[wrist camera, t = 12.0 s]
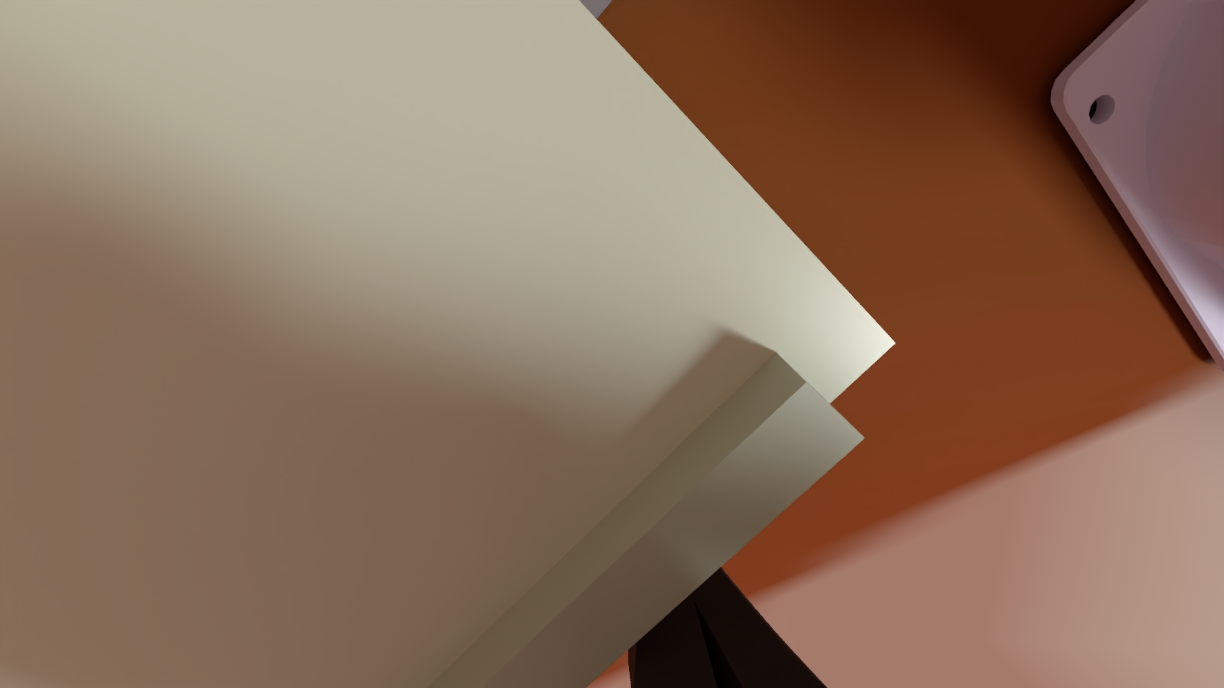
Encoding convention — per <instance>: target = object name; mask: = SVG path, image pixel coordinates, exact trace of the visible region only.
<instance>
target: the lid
mask: <svg viewBox="0 0 1224 688" xmlns="http://www.w3.org/2000/svg"><path fill="white" fill-rule="evenodd" d="M894 344H895V342H894V341H893V340H892V339H891V338H890V337H889V335H888V334H887V333H886V332H885V331H884V330H883V329H882V328H881V327H880V326H879V325H878V324H877V322H876V321H875V320H874V319H873V318H872V317H871V316H870V315H869V314H868V313H867V312H866V311H865V309H864V308H863V307H862V306H861V305H860V304H859V303H858V302H857V301H856V300H855V299H854V298H853V296H852V295H851V294H850V293H849V292H848V291H847V290H846V289H845V288H844V287H843V286H842V285H841V283H840V282H839V281H838V280H837V279H836V278H835V277H834V276H833V275H832V274H831V273H830V272H829V270H828V269H827V268H826V267H825V266H824V265H823V264H822V263H821V262H820V261H819V260H818V259H817V258H816V256H815V255H814V254H813V253H812V252H811V251H810V250H809V249H808V248H807V247H806V246H805V245H804V243H803V242H802V241H801V240H800V239H799V238H798V237H797V236H796V235H795V234H794V233H793V232H792V230H791V229H790V228H789V227H788V226H787V225H786V224H785V223H784V222H783V221H782V220H781V219H780V217H779V216H778V215H777V214H776V213H775V212H774V211H773V210H772V209H771V208H770V207H769V206H768V204H767V203H766V202H765V201H764V200H763V199H762V198H761V197H760V196H759V195H758V194H757V193H756V191H755V190H754V189H753V188H752V187H751V186H750V185H749V184H748V183H747V182H746V181H745V180H744V178H743V177H742V176H741V175H740V174H739V173H738V172H737V171H736V170H735V169H734V168H733V167H732V165H731V164H730V163H729V162H728V161H727V160H726V159H725V158H724V157H723V156H722V155H721V154H720V152H719V151H718V150H717V149H716V148H715V147H714V146H713V145H712V144H711V143H710V142H709V141H708V139H707V138H706V137H705V136H704V135H703V134H702V133H701V132H700V131H699V130H698V129H697V128H696V126H695V125H694V124H693V123H692V122H691V121H690V120H689V119H688V118H687V117H686V116H685V115H684V113H683V112H682V111H681V110H680V109H679V108H678V107H677V106H676V105H675V104H674V103H673V102H672V100H671V99H670V98H669V97H668V96H667V95H666V94H665V93H664V92H663V91H662V90H661V89H660V87H659V86H658V85H657V84H656V83H655V82H654V81H653V80H652V79H651V78H650V77H649V76H648V74H647V73H646V72H645V71H644V70H643V69H642V68H641V67H640V66H639V65H638V64H637V63H636V61H635V60H634V59H633V58H632V57H631V56H630V55H629V54H628V53H627V52H626V51H625V50H624V48H623V47H622V46H621V45H620V44H619V43H618V42H617V41H616V40H615V39H614V38H613V37H612V36H611V34H610V33H609V32H608V31H607V30H606V29H605V28H604V27H603V26H602V25H601V24H600V23H599V21H598V20H597V19H596V18H595V17H594V16H593V15H592V14H591V13H590V12H589V11H588V10H587V8H586V7H585V6H584V5H583V4H582V3H581V2H580V1H579V0H0V688H586V687H587V686H588V685H589V684H590V683H591V682H593V681H594V680H595V679H596V678H597V677H598V676H599V675H600V674H602V673H603V672H604V671H605V670H606V669H607V668H608V667H609V666H610V665H612V664H613V663H614V662H615V661H616V660H617V659H618V658H619V657H621V656H622V655H623V654H624V653H625V652H626V651H627V650H628V649H629V648H631V647H632V646H633V645H634V644H635V643H636V642H637V641H638V640H640V639H641V638H642V637H643V636H644V635H645V634H646V633H647V632H648V631H650V630H651V629H652V628H653V627H654V626H655V625H656V624H657V623H659V622H660V621H661V620H662V619H663V618H664V617H665V616H666V615H667V614H669V613H670V612H671V611H672V610H673V609H674V608H675V607H676V606H678V605H679V604H680V603H681V602H682V601H683V600H684V599H685V598H686V597H688V596H689V595H690V594H691V593H692V592H693V591H694V590H695V589H697V588H698V587H699V586H700V585H701V584H702V583H703V582H704V581H706V580H707V579H708V578H709V577H710V576H711V575H712V574H713V573H714V572H716V571H717V570H718V569H719V568H720V567H721V566H722V565H723V564H725V563H726V562H727V561H728V560H729V559H730V558H731V557H732V556H733V555H735V554H736V553H737V552H738V551H739V550H740V549H741V548H742V547H744V546H745V545H746V544H747V543H748V542H749V541H750V540H751V539H752V538H754V537H755V536H756V535H757V534H758V533H759V532H760V531H761V530H763V529H764V528H765V527H766V526H767V525H768V524H769V523H770V522H771V521H773V520H774V519H775V518H776V517H777V516H778V515H779V514H780V513H782V512H783V511H784V510H785V509H786V508H787V507H788V506H789V505H790V504H792V503H793V502H794V501H795V500H796V499H797V498H798V497H799V496H801V495H802V494H803V493H804V492H805V491H806V490H807V489H808V488H809V487H811V486H812V485H813V484H814V483H815V482H816V481H817V480H818V479H820V478H821V477H822V476H823V475H824V474H825V473H826V472H827V471H828V470H830V469H831V468H832V467H833V466H834V465H835V464H836V463H837V462H839V461H840V460H841V459H842V458H843V457H844V456H845V455H846V454H847V453H849V452H850V451H851V450H852V449H853V448H854V447H855V446H856V445H858V444H859V443H860V442H861V441H862V440H863V439H864V437H863V436H862V435H861V434H860V433H859V432H858V431H857V430H856V429H855V428H854V427H853V426H852V425H851V424H850V423H849V422H848V421H847V420H846V419H845V418H844V417H843V416H842V415H841V414H840V413H839V412H838V411H837V410H836V409H835V408H834V407H833V406H832V405H831V404H830V403H831V402H832V401H833V400H834V399H835V398H836V397H837V396H839V395H840V394H841V393H842V392H843V391H844V390H845V389H846V388H847V387H848V386H849V385H850V384H852V383H853V382H854V381H855V380H856V379H857V378H858V377H859V376H860V375H861V374H862V373H864V372H865V371H866V370H867V369H868V368H869V367H870V366H871V365H872V364H873V363H874V362H875V361H877V360H878V359H879V358H880V357H881V356H882V355H883V354H884V353H885V352H886V351H887V350H888V349H890V348H891V347H892V346H893V345H894Z"/></svg>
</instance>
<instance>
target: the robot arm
mask: <svg viewBox="0 0 1224 688" xmlns="http://www.w3.org/2000/svg"><path fill="white" fill-rule="evenodd" d="M1095 99H1096V102H1097V108H1096V112H1095V114H1094V115H1093V117H1092V118H1091V120H1090V117H1089V111H1090V107H1091V105H1092V104H1093V102H1094V101H1095ZM1051 104H1052V107H1053V110H1054V112H1055V113H1056V115H1057V116H1058V118H1059V119H1060V121H1061V123H1062V124H1063V126H1064V127H1065V129H1066V130H1067V132H1068V133H1069V135H1070V137H1071V138H1072V140H1073V141H1074V143H1075V144H1076V146H1077V147H1078V149H1079V151H1080V152H1081V154H1082V155H1083V157H1084V158H1085V160H1086V161H1087V163H1088V165H1089V166H1090V168H1091V169H1092V171H1093V172H1094V174H1095V175H1096V177H1097V179H1098V180H1099V182H1100V183H1101V185H1102V186H1103V188H1104V189H1105V191H1106V193H1107V194H1108V196H1109V197H1110V199H1111V200H1112V202H1113V203H1114V205H1115V207H1116V208H1117V210H1118V211H1119V213H1120V214H1121V216H1122V217H1123V219H1124V221H1125V222H1126V224H1127V225H1128V227H1129V228H1130V230H1131V231H1132V233H1133V235H1134V236H1135V238H1136V239H1137V241H1138V242H1139V244H1140V245H1141V247H1142V249H1143V250H1144V252H1145V253H1146V255H1147V256H1148V258H1149V259H1150V261H1151V263H1152V264H1153V266H1154V267H1155V269H1156V270H1157V272H1158V273H1159V275H1160V277H1161V278H1162V280H1163V281H1164V283H1165V284H1166V286H1167V287H1168V289H1169V291H1170V292H1171V294H1172V295H1173V297H1174V298H1175V300H1176V301H1177V303H1178V305H1179V306H1180V308H1181V309H1182V311H1183V312H1184V314H1185V315H1186V317H1187V319H1188V320H1189V322H1190V323H1191V325H1192V326H1193V328H1194V329H1195V331H1196V333H1197V334H1198V336H1199V337H1200V339H1201V340H1202V342H1203V343H1204V345H1205V347H1206V348H1207V350H1208V351H1209V353H1210V354H1211V356H1212V357H1213V359H1214V361H1215V362H1216V364H1217V365H1218V367H1219V368H1220V369H1221V370H1222V371H1223V372H1224V0H1136V1H1135V2H1134V3H1133V4H1132V5H1131V6H1130V7H1128V8H1127V9H1126V10H1125V11H1124V12H1123V13H1122V14H1121V15H1120V16H1119V17H1118V18H1117V19H1116V20H1115V21H1114V22H1113V23H1112V24H1111V25H1110V26H1109V27H1108V28H1107V29H1106V30H1105V31H1104V32H1103V33H1102V34H1100V35H1099V36H1098V37H1097V38H1096V39H1095V40H1094V41H1093V42H1092V43H1091V44H1090V45H1089V46H1088V47H1087V48H1086V49H1085V50H1084V51H1083V52H1082V53H1081V54H1080V55H1079V56H1078V57H1077V58H1076V59H1075V60H1074V61H1072V62H1071V63H1070V64H1069V65H1068V66H1067V67H1066V68H1065V69H1064V70H1063V71H1062V72H1061V74H1060V75H1059V76H1058V78H1057V79H1056V80H1055V83H1054V85H1053V88H1052V90H1051ZM628 664H629V672H630V681H631V688H827V687H826V686H825V685H824V684H823V683H822V682H821V681H820V680H819V679H818V678H817V676H816V675H815V674H814V673H813V672H812V671H811V670H810V669H809V668H808V667H807V666H806V665H805V664H804V663H803V661H802V660H801V659H800V658H799V657H798V656H797V655H796V654H795V653H794V652H793V651H792V650H791V649H790V647H789V646H788V645H787V644H786V643H785V642H784V641H783V640H782V639H781V638H780V637H779V635H778V634H777V633H776V632H775V631H774V630H773V628H772V627H771V626H770V625H769V624H768V623H767V622H766V620H765V619H764V618H763V617H762V616H761V615H760V613H759V612H758V611H757V610H756V609H755V608H754V606H753V605H752V604H751V603H750V602H749V600H748V599H747V598H746V597H745V596H744V594H743V593H742V592H741V591H740V590H739V588H738V587H737V586H736V585H735V584H734V582H733V581H732V580H731V579H730V577H729V576H728V575H727V574H726V572H725V571H724V570H723V569H722V568H721V567H720V568H719V569H718V570H717V571H716V572H714V573H713V574H712V575H711V576H710V577H709V578H708V579H707V580H706V581H704V582H703V583H702V584H701V585H700V586H699V587H698V588H697V589H695V590H694V591H693V592H692V593H691V594H690V595H689V596H688V597H686V598H685V599H684V600H683V601H682V602H681V603H680V604H679V605H678V606H676V607H675V608H674V609H673V610H672V611H671V612H670V613H669V614H667V615H666V616H665V617H664V618H663V619H662V620H661V621H660V622H659V623H657V624H656V625H655V626H654V627H653V628H652V629H651V630H650V631H648V632H647V633H646V634H645V635H644V636H643V637H642V638H641V639H640V640H638V641H637V642H636V643H635V644H634V645H633V646H632V647H631V648H629V649H628Z"/></svg>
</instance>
